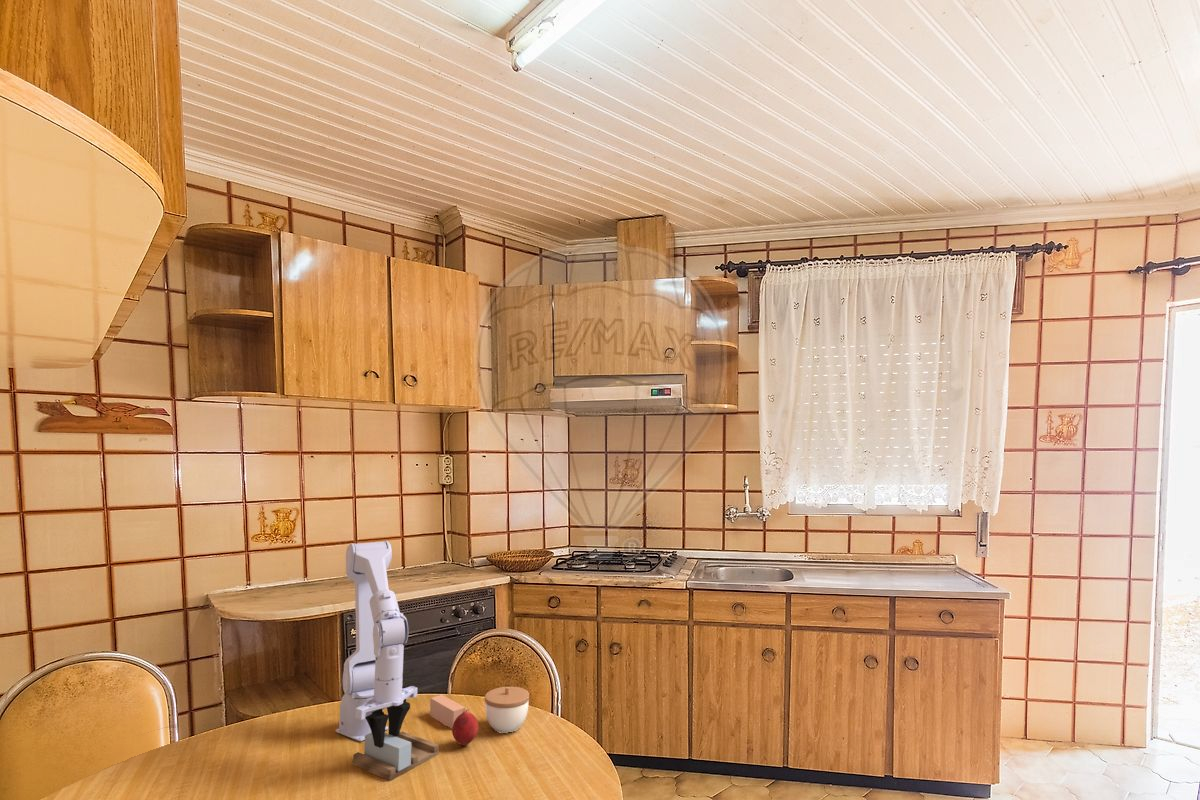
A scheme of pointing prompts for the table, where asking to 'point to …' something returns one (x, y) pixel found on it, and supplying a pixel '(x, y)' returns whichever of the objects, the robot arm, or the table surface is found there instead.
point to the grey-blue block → (389, 751)
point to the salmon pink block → (445, 710)
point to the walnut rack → (419, 755)
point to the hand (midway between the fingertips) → (386, 742)
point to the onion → (465, 728)
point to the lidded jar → (506, 708)
